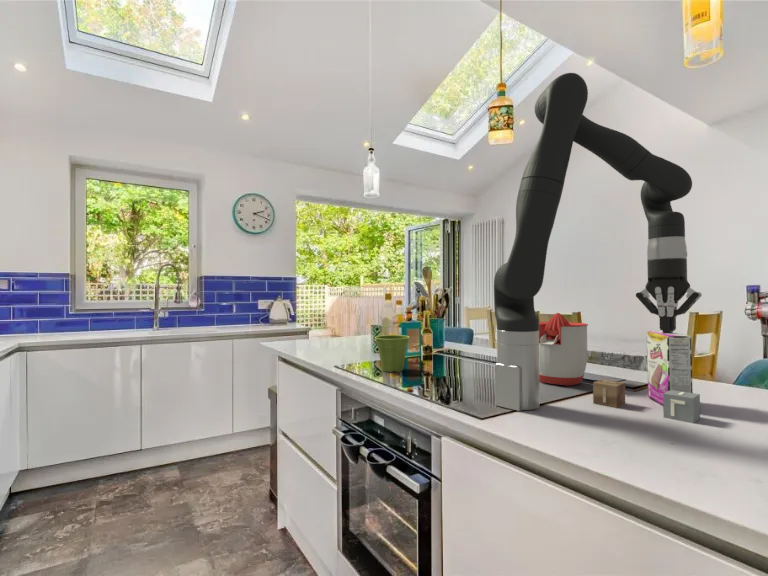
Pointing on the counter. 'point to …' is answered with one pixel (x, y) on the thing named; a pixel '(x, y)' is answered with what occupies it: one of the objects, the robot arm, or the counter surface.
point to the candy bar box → (668, 364)
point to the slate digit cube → (681, 406)
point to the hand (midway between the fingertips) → (668, 332)
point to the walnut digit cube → (609, 393)
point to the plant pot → (392, 351)
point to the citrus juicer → (562, 351)
